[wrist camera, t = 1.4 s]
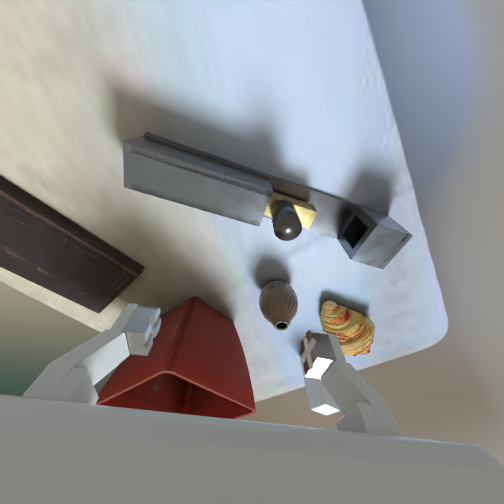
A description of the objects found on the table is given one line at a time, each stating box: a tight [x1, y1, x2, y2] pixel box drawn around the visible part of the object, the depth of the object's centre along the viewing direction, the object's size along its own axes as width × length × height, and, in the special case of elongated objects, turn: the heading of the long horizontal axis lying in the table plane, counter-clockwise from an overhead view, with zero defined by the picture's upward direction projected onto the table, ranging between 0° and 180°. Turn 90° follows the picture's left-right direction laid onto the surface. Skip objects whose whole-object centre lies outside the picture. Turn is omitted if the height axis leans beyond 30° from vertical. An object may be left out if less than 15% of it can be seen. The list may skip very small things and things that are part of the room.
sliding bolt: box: [264, 192, 318, 241], centre depth 26 cm, size 22×3×7 cm, turn 72°
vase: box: [259, 280, 298, 330], centre depth 38 cm, size 7×7×9 cm
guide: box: [123, 132, 413, 269], centre depth 28 cm, size 36×6×6 cm, turn 72°
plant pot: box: [95, 297, 256, 419], centre depth 41 cm, size 19×19×17 cm
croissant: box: [320, 300, 375, 356], centre depth 46 cm, size 21×10×8 cm, turn 39°
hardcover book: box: [0, 176, 144, 313], centre depth 36 cm, size 16×23×2 cm
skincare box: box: [300, 356, 340, 415], centre depth 52 cm, size 6×4×12 cm
